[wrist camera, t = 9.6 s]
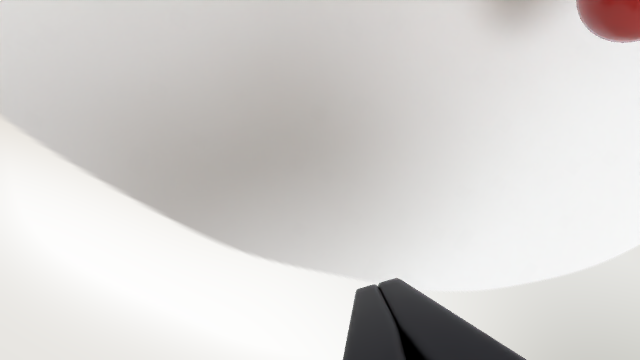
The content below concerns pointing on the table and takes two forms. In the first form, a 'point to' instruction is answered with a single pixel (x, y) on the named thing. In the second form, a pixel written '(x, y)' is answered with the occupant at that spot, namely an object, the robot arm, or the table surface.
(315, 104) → the table surface
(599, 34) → the lever
